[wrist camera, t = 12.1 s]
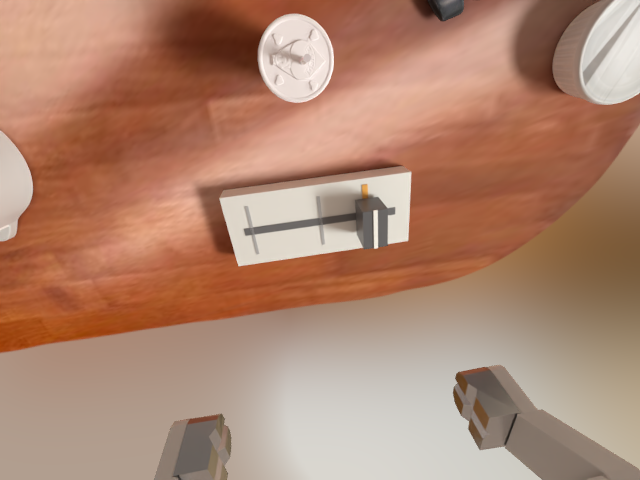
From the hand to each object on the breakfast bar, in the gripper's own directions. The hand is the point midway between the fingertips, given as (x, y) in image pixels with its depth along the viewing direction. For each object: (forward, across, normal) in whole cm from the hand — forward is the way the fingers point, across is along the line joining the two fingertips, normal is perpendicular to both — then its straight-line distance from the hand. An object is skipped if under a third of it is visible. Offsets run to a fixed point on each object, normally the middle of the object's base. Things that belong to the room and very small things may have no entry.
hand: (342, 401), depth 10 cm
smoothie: (+32, -1, -11) cm, 34 cm away
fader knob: (+29, -8, +7) cm, 31 cm away
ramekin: (+32, -36, -9) cm, 50 cm away
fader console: (+32, -2, +7) cm, 33 cm away
